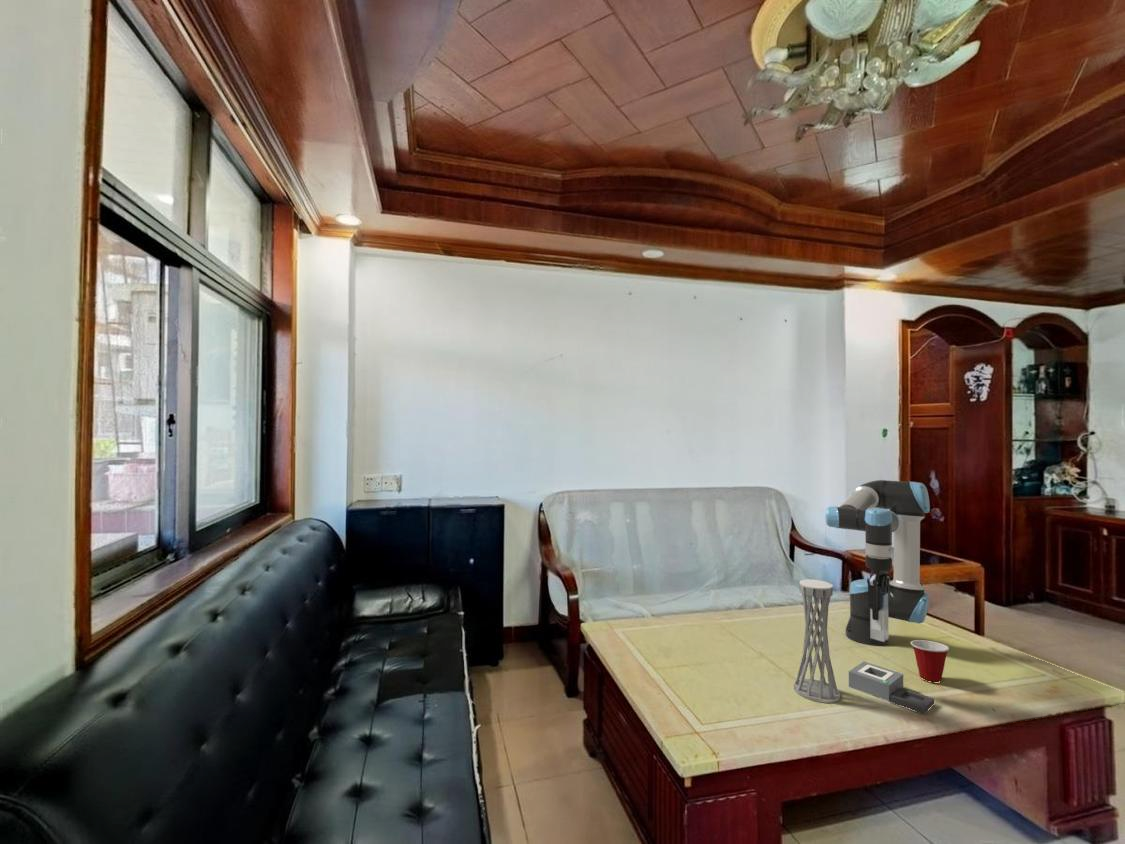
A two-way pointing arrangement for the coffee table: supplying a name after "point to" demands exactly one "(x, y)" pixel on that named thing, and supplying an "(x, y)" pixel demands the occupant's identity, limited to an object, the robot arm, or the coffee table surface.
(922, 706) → the dark grey slot tray
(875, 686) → the port
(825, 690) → the grey tall lattice tower
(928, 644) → the plastic cup
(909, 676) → the coffee table surface
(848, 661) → the coffee table surface
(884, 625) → the plug
